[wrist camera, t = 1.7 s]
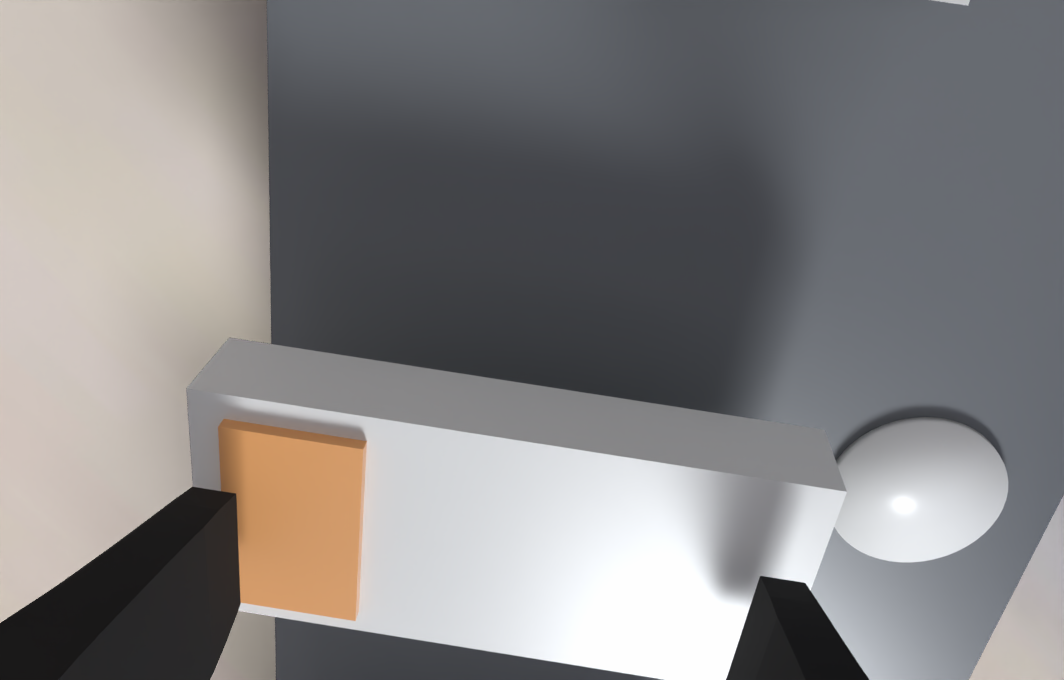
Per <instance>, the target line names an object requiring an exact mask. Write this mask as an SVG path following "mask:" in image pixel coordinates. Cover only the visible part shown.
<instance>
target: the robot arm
mask: <svg viewBox="0 0 1064 680" xmlns="http://www.w3.org/2000/svg"><path fill="white" fill-rule="evenodd" d="M240 604H241V600H240V575H239V549H238V523H237V498H236V493H230V492H224V491H217V490H211V489H204V488H198V487H192V488H190V489H189V490H187V491H186V492H184V493H183V494H182V495H180V496H179V497H178V498H176V499H175V500H173V501H172V502H171V503H169V504H168V505H167V506H165V507H164V508H163V509H161V510H160V511H159V512H157V513H156V514H155V515H153V516H152V517H151V518H149V519H148V520H147V521H145V522H144V523H143V524H141V525H140V526H139V527H137V528H136V529H135V530H133V531H132V532H131V533H129V534H128V535H126V536H125V537H124V538H122V539H121V540H120V541H118V542H117V543H116V544H114V545H113V546H112V547H110V548H109V549H108V550H106V551H105V552H103V553H102V554H101V555H99V556H98V557H96V558H95V559H94V560H92V561H91V562H89V563H88V564H87V565H85V566H84V567H82V568H81V569H80V570H78V571H77V572H75V573H74V574H73V575H71V576H70V577H68V578H67V579H66V580H64V581H63V582H61V583H60V584H59V585H57V586H56V587H54V588H53V589H51V590H50V591H48V592H47V593H45V594H44V595H42V596H41V597H39V598H38V599H36V600H35V601H33V602H32V603H30V604H29V605H27V606H25V607H24V608H22V609H21V610H19V611H18V612H16V613H15V614H13V615H12V616H10V617H9V618H7V619H6V620H4V621H3V622H1V623H0V680H210V678H211V676H212V674H213V673H214V670H215V668H216V665H217V663H218V660H219V658H220V655H221V653H222V651H223V648H224V646H225V643H226V641H227V638H228V636H229V633H230V630H231V628H232V625H233V623H234V620H235V617H236V615H237V612H238V610H239V607H240ZM726 680H869V678H868V677H867V675H866V674H865V672H864V671H863V669H862V668H861V667H860V665H859V663H858V662H857V660H856V659H855V657H854V656H853V654H852V653H851V651H850V650H849V648H848V647H847V645H846V644H845V642H844V641H843V639H842V638H841V636H840V635H839V633H838V632H837V630H836V629H835V627H834V626H833V624H832V622H831V621H830V619H829V618H828V616H827V615H826V613H825V612H824V610H823V609H822V607H821V606H820V604H819V602H818V601H817V599H816V598H815V596H814V595H813V593H812V592H811V590H810V589H809V588H808V586H807V585H806V583H803V582H797V581H791V580H784V579H778V578H772V577H765V576H760V578H759V581H758V584H757V587H756V590H755V593H754V596H753V599H752V602H751V605H750V608H749V611H748V614H747V617H746V620H745V623H744V626H743V630H742V633H741V636H740V639H739V642H738V645H737V648H736V651H735V654H734V657H733V660H732V663H731V666H730V669H729V672H728V675H727V678H726Z"/></svg>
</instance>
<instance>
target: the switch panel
mask: <svg viewBox="0 0 1064 680" xmlns="http://www.w3.org/2000/svg"><path fill="white" fill-rule="evenodd" d="M267 50H268V124H269V197H270V270H271V344H274V345H281V346H287V347H294V348H300V349H306V350H313V351H319V352H326V353H332V354H339V355H345V356H352V357H358V358H364V359H371V360H377V361H384V362H390V363H397V364H403V365H410V366H416V367H422V368H429V369H435V370H442V371H448V372H455V373H461V374H468V375H474V376H481V377H487V378H493V379H500V380H506V381H513V382H519V383H526V384H532V385H539V386H545V387H551V388H558V389H564V390H571V391H577V392H584V393H590V394H597V395H603V396H609V397H616V398H622V399H629V400H635V401H642V402H648V403H655V404H661V405H667V406H674V407H680V408H687V409H693V410H700V411H706V412H713V413H719V414H726V415H732V416H738V417H745V418H751V419H758V420H764V421H771V422H777V423H784V424H790V425H796V426H803V427H809V428H816V429H822V430H825V433H826V435H827V438H828V441H829V444H830V446H831V449H832V452H833V455H834V457H835V460H836V463H837V466H838V468H839V471H840V474H841V477H842V479H843V482H844V485H845V488H846V490H847V493H846V496H845V499H844V501H843V504H842V507H841V509H840V512H839V515H838V518H837V520H836V523H835V526H834V528H833V531H832V534H831V537H830V539H829V542H828V545H827V547H826V550H825V553H824V556H823V558H822V561H821V564H820V567H819V569H818V572H817V575H816V577H815V580H814V583H813V586H812V588H811V592H812V593H813V595H814V596H815V598H816V599H817V601H818V602H819V604H820V606H821V607H822V609H823V610H824V612H825V613H826V615H827V616H828V618H829V619H830V621H831V622H832V624H833V626H834V627H835V629H836V630H837V632H838V633H839V635H840V636H841V638H842V639H843V641H844V642H845V644H846V645H847V647H848V648H849V650H850V651H851V653H852V654H853V656H854V657H855V659H856V660H857V662H858V663H859V665H860V667H861V668H862V669H863V671H864V672H865V674H866V675H867V677H868V678H869V680H969V678H970V676H971V674H972V672H973V670H974V668H975V666H976V664H977V662H978V661H979V659H980V657H981V655H982V653H983V651H984V649H985V647H986V645H987V643H988V641H989V639H990V637H991V635H992V633H993V631H994V629H995V627H996V625H997V623H998V622H999V620H1000V618H1001V616H1002V614H1003V612H1004V610H1005V608H1006V606H1007V604H1008V602H1009V600H1010V598H1011V596H1012V594H1013V592H1014V590H1015V588H1016V586H1017V584H1018V583H1019V581H1020V579H1021V577H1022V575H1023V573H1024V571H1025V569H1026V567H1027V565H1028V563H1029V561H1030V559H1031V557H1032V555H1033V553H1034V551H1035V549H1036V547H1037V545H1038V544H1039V542H1040V540H1041V538H1042V536H1043V534H1044V532H1045V530H1046V528H1047V526H1048V524H1049V522H1050V520H1051V518H1052V516H1053V514H1054V512H1055V510H1056V508H1057V506H1058V505H1059V503H1060V501H1061V499H1062V497H1063V495H1064V0H970V2H969V5H968V6H967V5H960V4H953V3H946V2H940V1H933V0H267ZM275 638H276V680H664V679H658V678H652V677H645V676H639V675H633V674H627V673H621V672H614V671H608V670H602V669H596V668H590V667H583V666H577V665H571V664H565V663H558V662H552V661H546V660H540V659H534V658H527V657H521V656H515V655H509V654H503V653H496V652H490V651H484V650H478V649H472V648H465V647H459V646H453V645H447V644H440V643H434V642H428V641H422V640H416V639H409V638H403V637H397V636H391V635H385V634H378V633H372V632H366V631H360V630H354V629H347V628H341V627H335V626H329V625H322V624H316V623H310V622H304V621H298V620H291V619H285V618H279V617H275Z"/></svg>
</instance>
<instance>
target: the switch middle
mask: <svg viewBox="0 0 1064 680" xmlns="http://www.w3.org/2000/svg"><path fill="white" fill-rule="evenodd" d="M186 390H187V405H188V419H189V434H190V449H191V464H192V479H193V487H198V488H204V489H211V490H217V491H224V492H230V493H236V498H237V523H238V549H239V575H240V600H241V604H240V607H239V610H238V611H242V612H248V613H254V614H260V615H267V616H273V617H279V618H285V619H291V620H298V621H304V622H310V623H316V624H322V625H329V626H335V627H341V628H347V629H354V630H360V631H366V632H372V633H378V634H385V635H391V636H397V637H403V638H409V639H416V640H422V641H428V642H434V643H440V644H447V645H453V646H459V647H465V648H472V649H478V650H484V651H490V652H496V653H503V654H509V655H515V656H521V657H527V658H534V659H540V660H546V661H552V662H558V663H565V664H571V665H577V666H583V667H590V668H596V669H602V670H608V671H614V672H621V673H627V674H633V675H639V676H645V677H652V678H658V679H664V680H726V678H727V675H728V672H729V669H730V666H731V663H732V660H733V657H734V654H735V651H736V648H737V645H738V642H739V639H740V636H741V633H742V630H743V626H744V623H745V620H746V617H747V614H748V611H749V608H750V605H751V602H752V599H753V596H754V593H755V590H756V587H757V584H758V581H759V578H760V576H765V577H772V578H778V579H784V580H791V581H797V582H803V583H806V585H807V586H808V588H809V589H810V590H811V588H812V586H813V583H814V580H815V577H816V575H817V572H818V569H819V567H820V564H821V561H822V558H823V556H824V553H825V550H826V547H827V545H828V542H829V539H830V537H831V534H832V531H833V528H834V526H835V523H836V520H837V518H838V515H839V512H840V509H841V507H842V504H843V501H844V499H845V496H846V493H847V490H846V488H845V485H844V482H843V479H842V477H841V474H840V471H839V468H838V466H837V463H836V460H835V457H834V455H833V452H832V449H831V446H830V444H829V441H828V438H827V435H826V433H825V430H822V429H816V428H809V427H803V426H796V425H790V424H784V423H777V422H771V421H764V420H758V419H751V418H745V417H738V416H732V415H726V414H719V413H713V412H706V411H700V410H693V409H687V408H680V407H674V406H667V405H661V404H655V403H648V402H642V401H635V400H629V399H622V398H616V397H609V396H603V395H597V394H590V393H584V392H577V391H571V390H564V389H558V388H551V387H545V386H539V385H532V384H526V383H519V382H513V381H506V380H500V379H493V378H487V377H481V376H474V375H468V374H461V373H455V372H448V371H442V370H435V369H429V368H422V367H416V366H410V365H403V364H397V363H390V362H384V361H377V360H371V359H364V358H358V357H352V356H345V355H339V354H332V353H326V352H319V351H313V350H306V349H300V348H294V347H287V346H281V345H274V344H268V343H261V342H255V341H248V340H242V339H236V338H228V340H227V341H226V342H225V343H224V344H223V346H222V347H221V348H220V349H219V350H218V352H217V353H216V354H215V355H214V356H213V357H212V359H211V360H210V361H209V362H208V363H207V365H206V366H205V367H204V368H203V369H202V371H201V372H200V373H199V374H198V375H197V377H196V378H195V379H194V380H193V381H192V382H191V384H190V385H189V386H188V387H187V388H186Z"/></svg>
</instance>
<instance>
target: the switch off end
mask: <svg viewBox="0 0 1064 680" xmlns="http://www.w3.org/2000/svg"><path fill="white" fill-rule="evenodd" d="M933 1H940V2H946V3H953V4H960V5H967V6H968V5H969V2H970V0H933Z"/></svg>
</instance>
